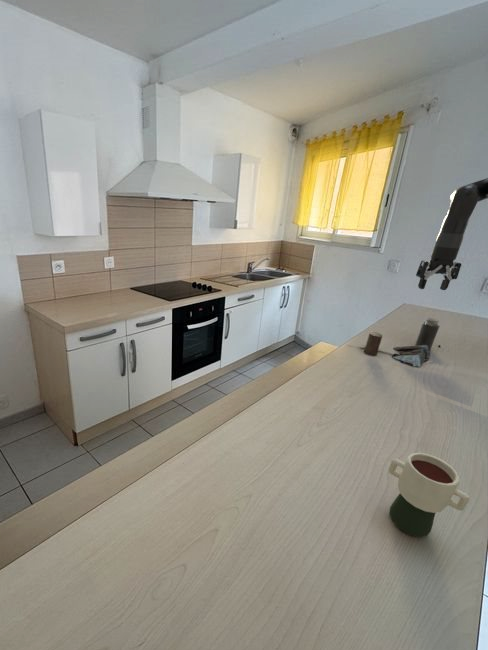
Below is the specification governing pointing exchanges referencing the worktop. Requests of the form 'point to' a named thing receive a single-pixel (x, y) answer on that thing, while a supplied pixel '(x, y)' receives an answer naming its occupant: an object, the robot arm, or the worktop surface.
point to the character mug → (423, 492)
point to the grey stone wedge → (412, 354)
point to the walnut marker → (373, 343)
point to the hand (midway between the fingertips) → (431, 289)
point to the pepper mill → (428, 333)
